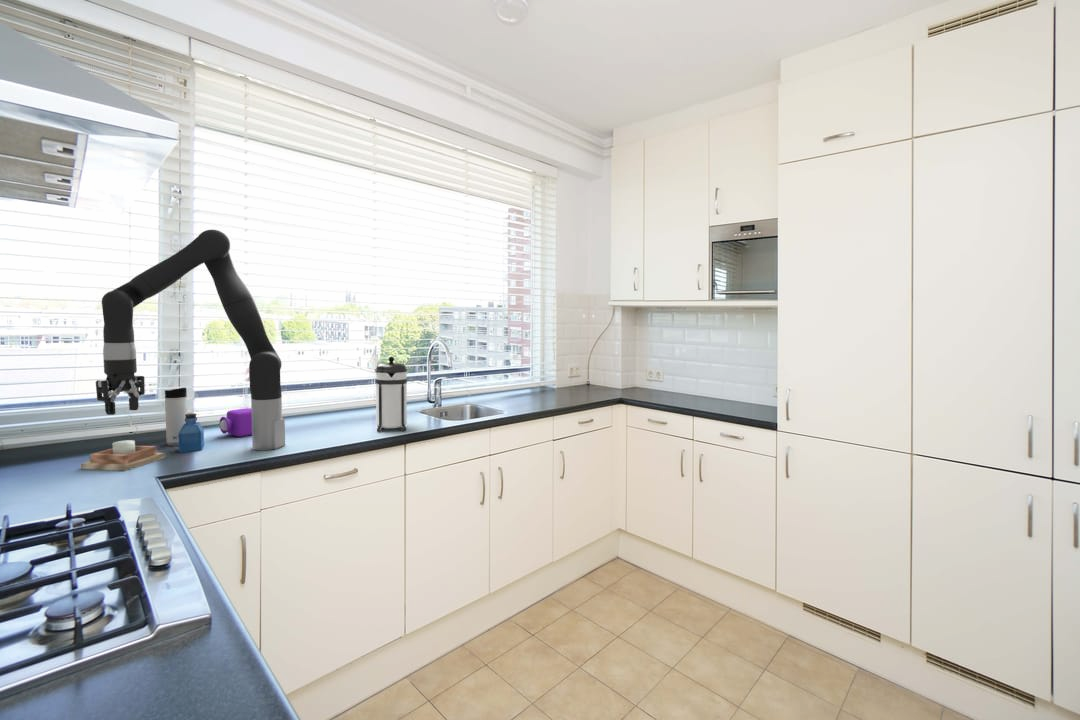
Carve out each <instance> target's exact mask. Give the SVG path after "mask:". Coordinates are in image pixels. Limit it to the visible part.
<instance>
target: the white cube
mask: <svg viewBox="0 0 1080 720" xmlns="http://www.w3.org/2000/svg"><path fill="white" fill-rule="evenodd" d="M135 446H136V440H134V439H128V440H127V439H126V440H119V441H114V442H112V448H113V454H121V455H126V454H129V453H132V452H135Z"/></svg>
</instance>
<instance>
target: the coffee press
mask: <svg viewBox="0 0 1080 720" xmlns="http://www.w3.org/2000/svg"><path fill="white" fill-rule="evenodd" d="M387 360H388V362H382V363H379V364H377V366H376V368H375V369H374V373H375V378H374V379H375V380H374V381H375V382H374V383H375V407H376V408H375V414H376V415H375V416H376V418H375V419H376V420H375V423H376V426H377V428H376V432H377V433H383V430H385V429H396V428H397V429H399V430H401V432H407V426H406V425H407V424H408V423H407V420H408V419H407V418H408V415H407V413H408V411H407V409H408V408H407V407H408V406H407V405H408V404H407V403H408V402H407V396H408V395H407V393H408V392H407V390H408V389H407V383H408V378H407V375H408V374H407V373H408V371H409V370H408V368H407V366H406V365H405V364H404V363H400V362H394V361H395V358H394V356H389V358H388V359H387Z"/></svg>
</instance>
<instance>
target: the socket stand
mask: <svg viewBox="0 0 1080 720" xmlns="http://www.w3.org/2000/svg"><path fill="white" fill-rule="evenodd" d="M162 459H166V453H165V452H158V450H157V446H156V445H135V452H132V453H129V454H126V455H121V454H113V447H112V448H108V449H105V450H102V451H97V452H94V453H90V454H89V461H86V462H84V463H83V462H82V463H80V469H81V470H98V471H99V470H101V471H118V470H127V471H129V470H128V469H130V470H132V469H131V468H133V469H136V468H138V466H139V467H142V466H145V465H148V464H151V463H153V462H157V461H159V460H162ZM150 462H151V463H150ZM147 463H148V464H147ZM144 464H145V465H144ZM141 465H142V466H141ZM135 467H136V468H135Z"/></svg>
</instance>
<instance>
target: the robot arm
mask: <svg viewBox="0 0 1080 720" xmlns="http://www.w3.org/2000/svg"><path fill="white" fill-rule="evenodd" d="M230 249H231V241H230V239H229V237H228V236H227V234H225V233H224V232H223V231H220V230H218V229H207V230H204V231H202V232H200V233H199V234H198V235H197V237H196V238H194V239H193V240H192V241H191V242H190V243H188V245H186V246H184V247H183V248H182V249H181V250H179V251H177V252H176V253H174V254H172V255H171V256H169V257H168V258H166V259H164V260H162V261H160V262H159V263H156V264H155V265H153V266H151V267H149V268H148V269H146V270H144V271H142V272H141V273H139V274H138V275H136V276H134V277H133V278H132V279H130V280H129V281H127V282H126V283H124V284H123V285H120V286H119V287H117V288H114V289H113V290H110V291H108V292H106V293H105V294H104V295H103V296H102V298H101V308H102V316H103V329H102V330H103V350H102V357H103V358H102V359H103V372H104V375H106V377H105V378H106V379H104V380H96V381H95V390H96V400H97V401H99V402H103V403H104V411H105V413H106V415H108V416H113V415H116V402H115V401H116V398H117V396H119V395H120V393H123V392H124V393H126V394H127V395H128V397H129V398H128V407H129V408H128V410H129V411H137V410H139V406H140V405H139V398H140V397H141V396H144V395H145V393H146V392H145V391H146V389H145V386H146V385H145V383H146V382H145V376H144V375H135V373H137V371H138V370H137V369H138V368H137V350H136V349H137V348H136V345H135V330H134V325H133V321H134V320H133V319H134V308H135V307H137V306H138V305H140V304H141V303H143V302H144V301H146V300H147V299H150V298H153V297H154V296H156V295H157V294H159V293H161V292H163V291H164V290H166V289H168V288H169V287H171V286H172V285H173V284H175V283H177V282H178V280H180V279H182V277H184V276H185V275H186V274H188V273H189V272H190V271H192V270H194V269H195V268H197V267H199V266H200V265H202V264H204V265H205V267H206V269H207V271H208V272H209V274H210V276H211V277H212V280H213V283H214V286H215V289H216V292H217V294H218V298H219V299H220V302H221V305H222V307H223V310H224V312H225V314H226V317H227V318H228V320H229V322H230V324H231V325H232V327H233V328H234V330H235V331H236V332H237V334H238V335H239V337H241V339H242V341H243V342H244V344H245V346H246V349H247V351H248V354H249V357H250V360H249V364H248V373H249V374H248V376H249V377H248V380H249V391H250V399H251V400H250V402H251V405H250V406H251V410H252V435H251V439H252V442H251V443H252V445H251V446H252V449H253V450H256V451H266V450H277V449H279V448H282V447H283V446H286V424H285V423H286V421H285V420H286V419H285V418H283V412H282V411H283V407H282V386H281V369H282V361H281V360H282V359H281V358H280V357H279V355H278V352H277V351H276V349H275V348H274V347H273V345H272V343H271V341H270V339H269V337H268V335H267V332H266V329H265V326H264V322H263V320H262V317H261V315H260V312H259V309H258V307H257V305H256V302H255V300H254V299H253V296H252V294H251V292H250V290H249V289H248V288H247V286H246V285H245V282H244V281H243V280H242V279H241V277H240V276H239V274H238V273H237V270H236V268H235V266H234V263H233V260H232V258H231V255H230Z"/></svg>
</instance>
